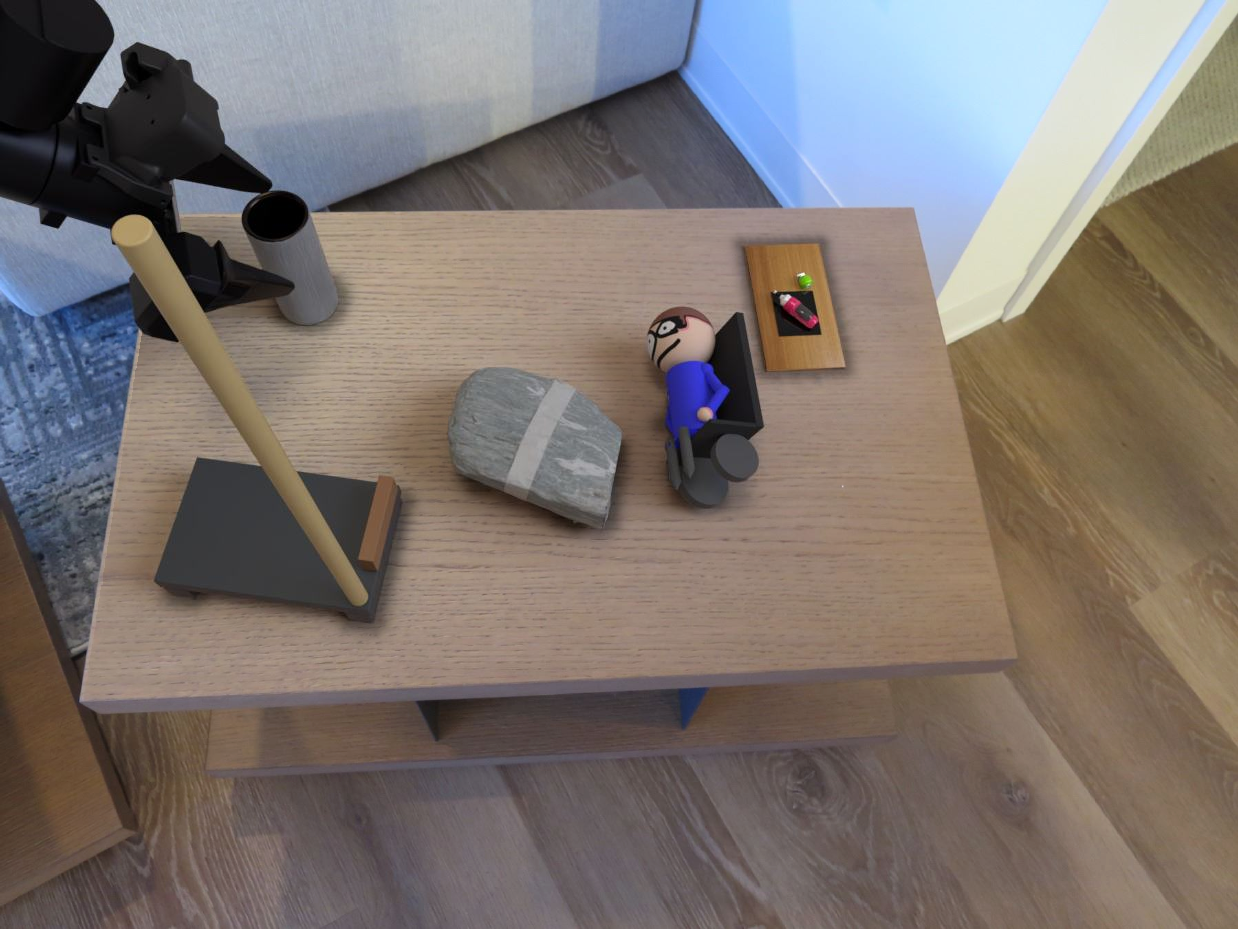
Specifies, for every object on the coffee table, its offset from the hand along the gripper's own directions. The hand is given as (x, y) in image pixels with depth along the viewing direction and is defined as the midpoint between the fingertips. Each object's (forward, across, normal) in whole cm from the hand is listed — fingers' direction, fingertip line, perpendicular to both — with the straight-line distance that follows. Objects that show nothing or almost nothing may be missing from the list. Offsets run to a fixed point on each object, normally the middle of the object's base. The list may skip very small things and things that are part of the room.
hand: (280, 237), depth 67 cm
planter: (+6, 0, +6) cm, 8 cm away
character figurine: (+24, -18, -12) cm, 33 cm away
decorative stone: (+16, -18, -4) cm, 24 cm away
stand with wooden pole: (+2, -20, +9) cm, 22 cm away
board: (+32, -11, -20) cm, 40 cm away
